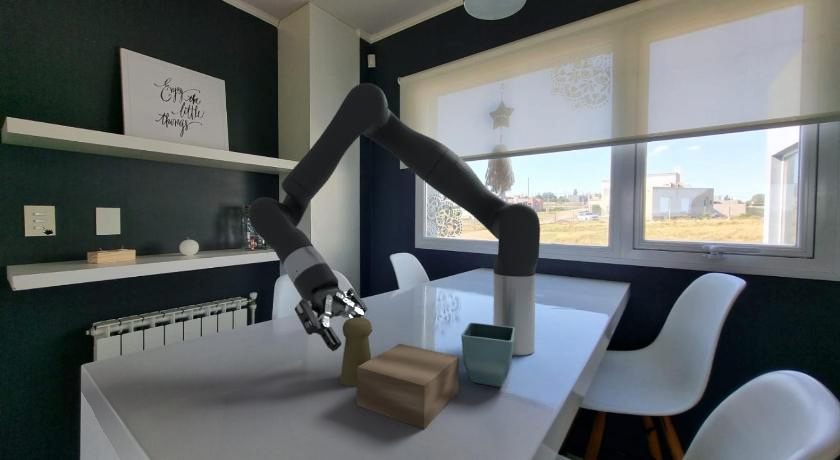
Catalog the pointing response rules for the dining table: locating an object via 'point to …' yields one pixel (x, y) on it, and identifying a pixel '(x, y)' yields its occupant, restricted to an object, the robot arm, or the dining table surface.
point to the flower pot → (487, 352)
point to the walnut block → (408, 384)
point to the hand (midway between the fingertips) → (354, 340)
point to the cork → (355, 349)
